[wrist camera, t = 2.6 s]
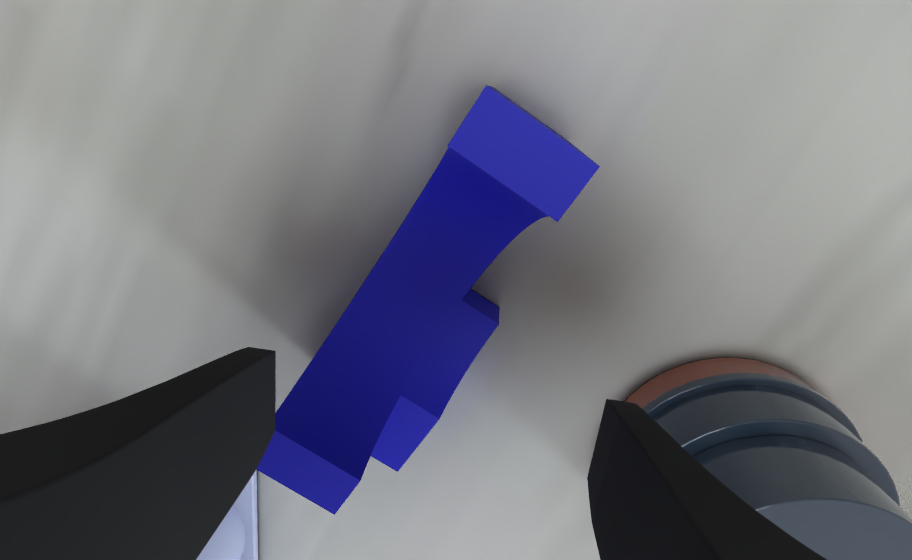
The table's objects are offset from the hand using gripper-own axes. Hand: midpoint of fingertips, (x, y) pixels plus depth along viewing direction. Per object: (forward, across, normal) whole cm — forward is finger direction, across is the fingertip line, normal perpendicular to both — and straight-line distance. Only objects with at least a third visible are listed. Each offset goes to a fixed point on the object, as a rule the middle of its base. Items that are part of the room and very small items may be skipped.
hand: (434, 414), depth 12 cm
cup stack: (+8, -10, +6) cm, 14 cm away
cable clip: (+8, +1, 0) cm, 8 cm away
